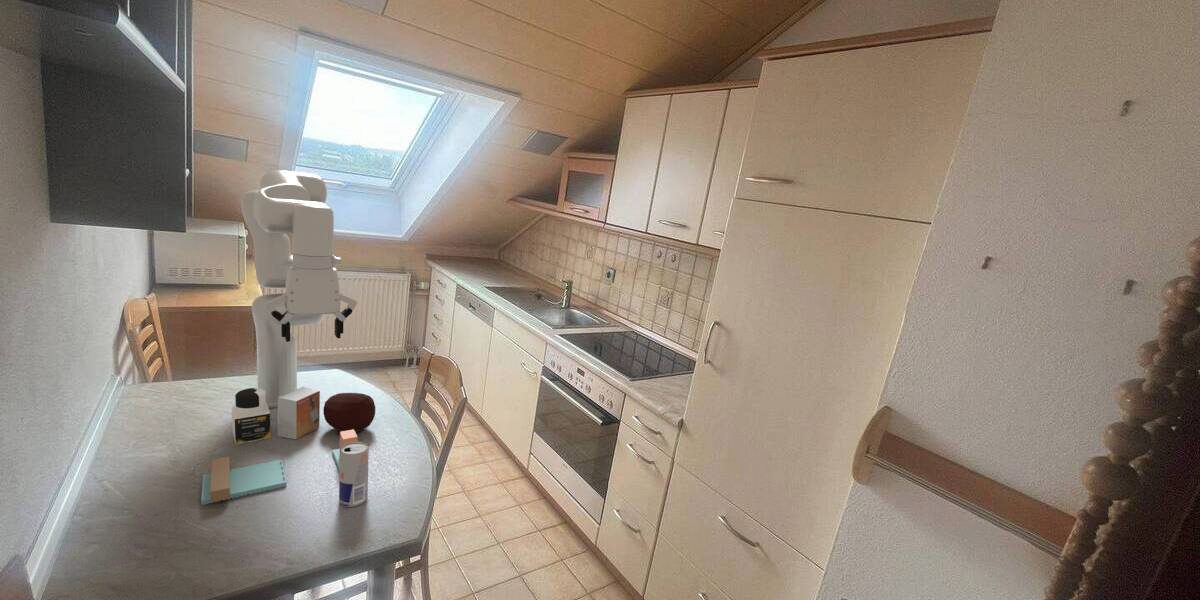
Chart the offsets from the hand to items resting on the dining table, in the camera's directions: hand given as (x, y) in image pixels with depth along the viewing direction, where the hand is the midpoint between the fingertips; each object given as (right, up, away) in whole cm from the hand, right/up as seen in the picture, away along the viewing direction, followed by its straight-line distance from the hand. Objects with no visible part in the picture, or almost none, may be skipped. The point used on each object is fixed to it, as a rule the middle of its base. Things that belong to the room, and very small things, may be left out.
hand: (313, 338), depth 107 cm
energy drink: (+12, -34, -6) cm, 36 cm away
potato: (-4, -27, +22) cm, 35 cm away
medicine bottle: (-24, -26, +14) cm, 38 cm away
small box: (-15, -26, +18) cm, 35 cm away
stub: (+4, -30, +8) cm, 31 cm away
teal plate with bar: (-12, -31, -4) cm, 33 cm away
